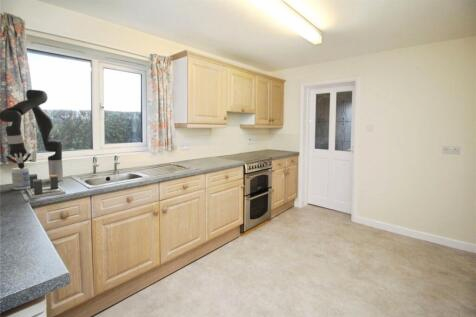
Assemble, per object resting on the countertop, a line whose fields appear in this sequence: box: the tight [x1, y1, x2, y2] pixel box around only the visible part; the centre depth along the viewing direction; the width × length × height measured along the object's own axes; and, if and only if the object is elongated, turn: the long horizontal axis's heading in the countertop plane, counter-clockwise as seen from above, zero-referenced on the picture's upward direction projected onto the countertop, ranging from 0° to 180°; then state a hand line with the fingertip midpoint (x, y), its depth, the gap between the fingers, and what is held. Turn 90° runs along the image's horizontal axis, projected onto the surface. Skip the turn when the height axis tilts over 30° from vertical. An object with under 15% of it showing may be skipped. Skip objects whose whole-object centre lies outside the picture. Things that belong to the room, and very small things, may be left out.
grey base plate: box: [25, 173, 66, 199], centre depth 174 cm, size 28×18×11 cm, turn 44°
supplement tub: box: [11, 166, 30, 191], centre depth 182 cm, size 10×10×15 cm
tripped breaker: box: [48, 174, 59, 189], centre depth 178 cm, size 4×4×9 cm
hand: (21, 168), depth 166 cm, fingers closed
